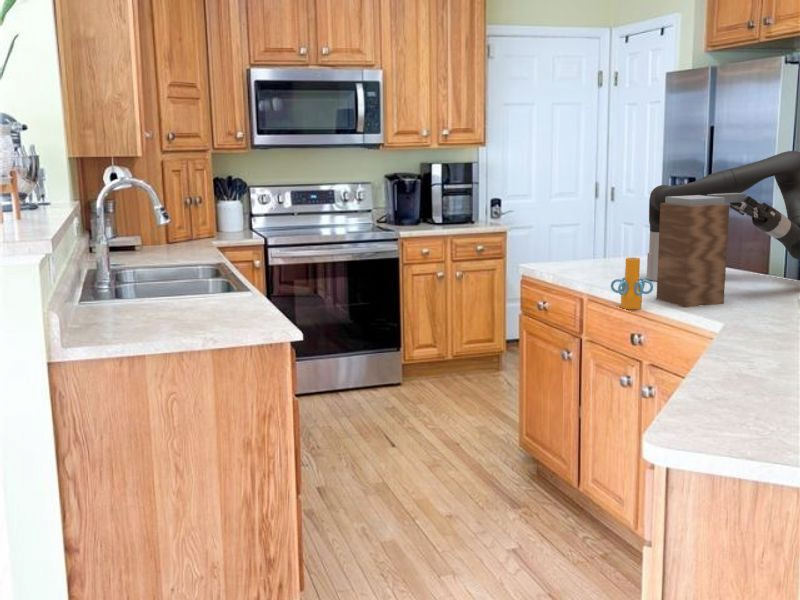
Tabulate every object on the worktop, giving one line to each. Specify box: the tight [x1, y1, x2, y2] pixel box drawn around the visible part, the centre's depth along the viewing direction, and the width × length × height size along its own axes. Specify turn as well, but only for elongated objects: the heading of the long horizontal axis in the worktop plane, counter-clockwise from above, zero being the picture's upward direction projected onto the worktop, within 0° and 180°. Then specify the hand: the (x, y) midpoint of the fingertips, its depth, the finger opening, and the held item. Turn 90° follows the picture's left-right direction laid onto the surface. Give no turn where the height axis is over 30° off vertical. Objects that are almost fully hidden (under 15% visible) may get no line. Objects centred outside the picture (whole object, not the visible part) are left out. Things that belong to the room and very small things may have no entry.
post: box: [656, 203, 731, 308], centre depth 247 cm, size 14×14×30 cm
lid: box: [665, 192, 747, 206], centre depth 246 cm, size 23×12×2 cm, turn 108°
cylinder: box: [610, 256, 654, 311], centre depth 241 cm, size 12×10×15 cm
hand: (736, 197), depth 249 cm, fingers open, 8 cm apart
